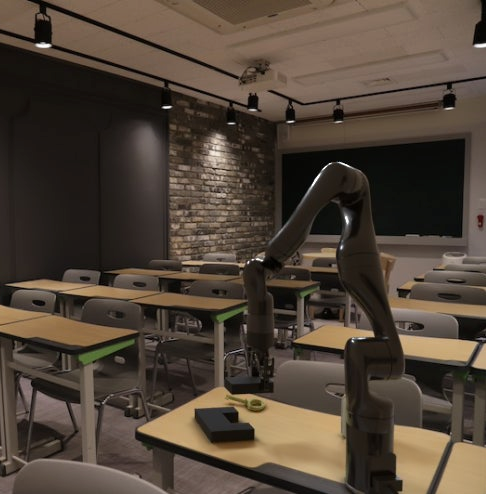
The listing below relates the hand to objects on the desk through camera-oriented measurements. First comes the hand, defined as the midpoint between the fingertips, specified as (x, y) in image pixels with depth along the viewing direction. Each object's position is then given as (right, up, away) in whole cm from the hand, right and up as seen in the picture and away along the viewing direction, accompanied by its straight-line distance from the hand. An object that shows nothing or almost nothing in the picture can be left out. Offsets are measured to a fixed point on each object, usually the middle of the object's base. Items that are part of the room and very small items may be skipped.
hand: (259, 387), depth 138 cm
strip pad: (-3, -1, 0) cm, 3 cm away
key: (0, -11, +17) cm, 20 cm away
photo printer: (+25, -11, -5) cm, 28 cm away
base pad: (-11, -11, -1) cm, 16 cm away
